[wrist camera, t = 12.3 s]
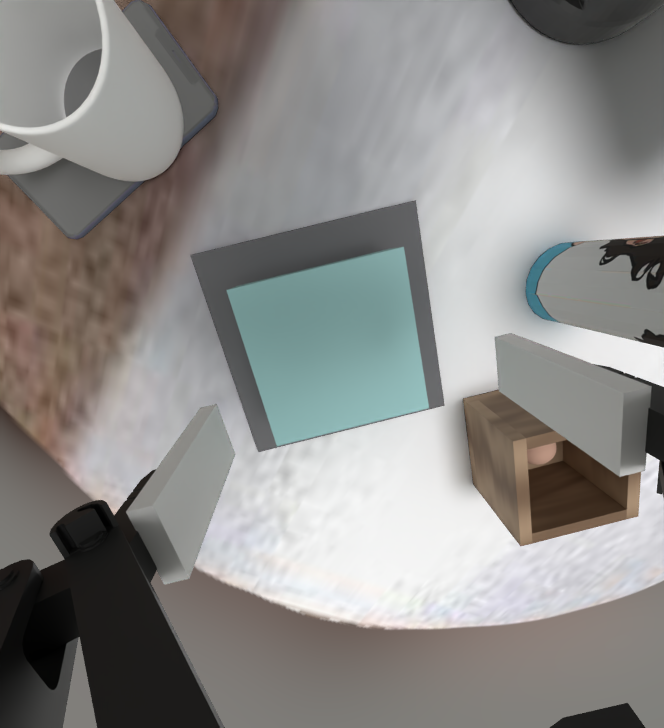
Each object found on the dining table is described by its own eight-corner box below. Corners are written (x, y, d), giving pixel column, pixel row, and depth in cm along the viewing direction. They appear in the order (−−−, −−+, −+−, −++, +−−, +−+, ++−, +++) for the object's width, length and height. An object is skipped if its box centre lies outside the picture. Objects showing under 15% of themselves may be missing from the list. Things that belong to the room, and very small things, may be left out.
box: (463, 398, 32) (512, 441, 24) (563, 373, 32) (645, 408, 25) (473, 484, 35) (520, 546, 28) (565, 461, 35) (638, 516, 28)
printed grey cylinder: (587, 322, 31) (832, 374, 17) (518, 319, 30) (711, 371, 16) (608, 244, 29) (907, 228, 15) (535, 239, 28) (772, 217, 14)
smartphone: (-19, 150, 23) (138, -11, 21) (-7, 154, 24) (146, 0, 22) (71, 244, 25) (222, 104, 23) (80, 244, 26) (226, 110, 24)
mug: (82, 235, 25) (-56, 219, 16) (-8, 125, 23) (-238, 25, 13) (211, 142, 24) (150, 62, 15) (131, 17, 22) (-7, -180, 12)
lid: (240, 284, 27) (226, 290, 22) (385, 249, 27) (403, 246, 22) (281, 416, 31) (276, 446, 26) (408, 384, 31) (429, 408, 26)
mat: (192, 255, 26) (190, 255, 26) (413, 201, 27) (415, 200, 26) (258, 449, 32) (258, 452, 31) (442, 403, 32) (444, 405, 32)
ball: (504, 425, 32) (527, 443, 29) (538, 416, 32) (565, 434, 29) (507, 455, 33) (529, 476, 30) (540, 446, 33) (566, 466, 30)
